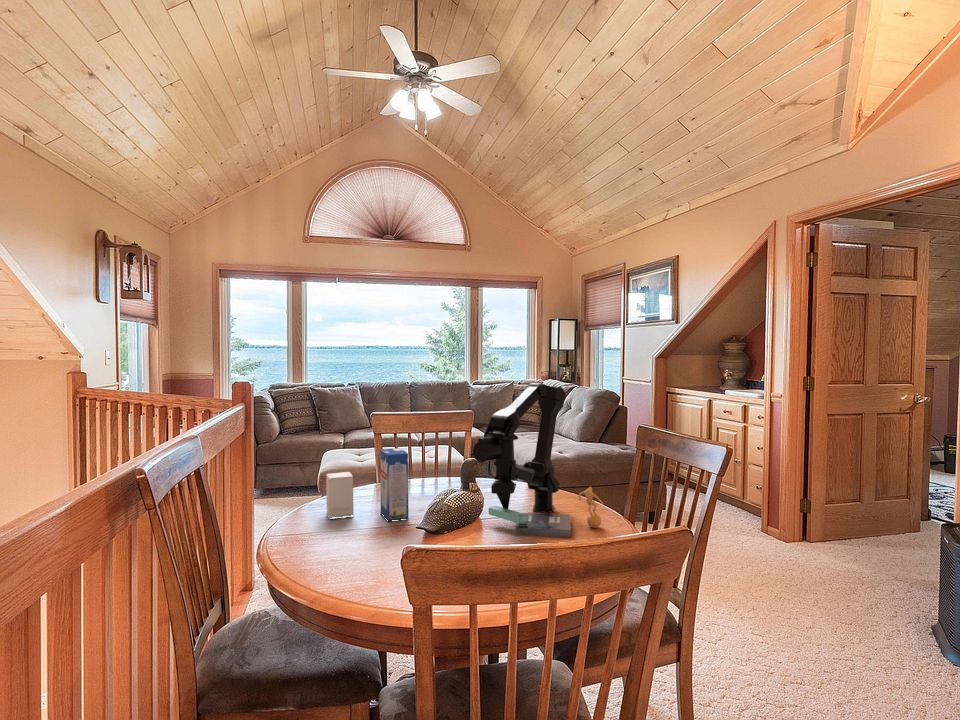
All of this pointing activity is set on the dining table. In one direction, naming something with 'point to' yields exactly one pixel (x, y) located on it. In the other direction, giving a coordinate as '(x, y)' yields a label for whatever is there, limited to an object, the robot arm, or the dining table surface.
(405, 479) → the milk carton
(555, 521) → the server tray
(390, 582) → the dining table surface
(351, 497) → the supplement box
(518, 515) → the swing bar
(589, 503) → the figurine
